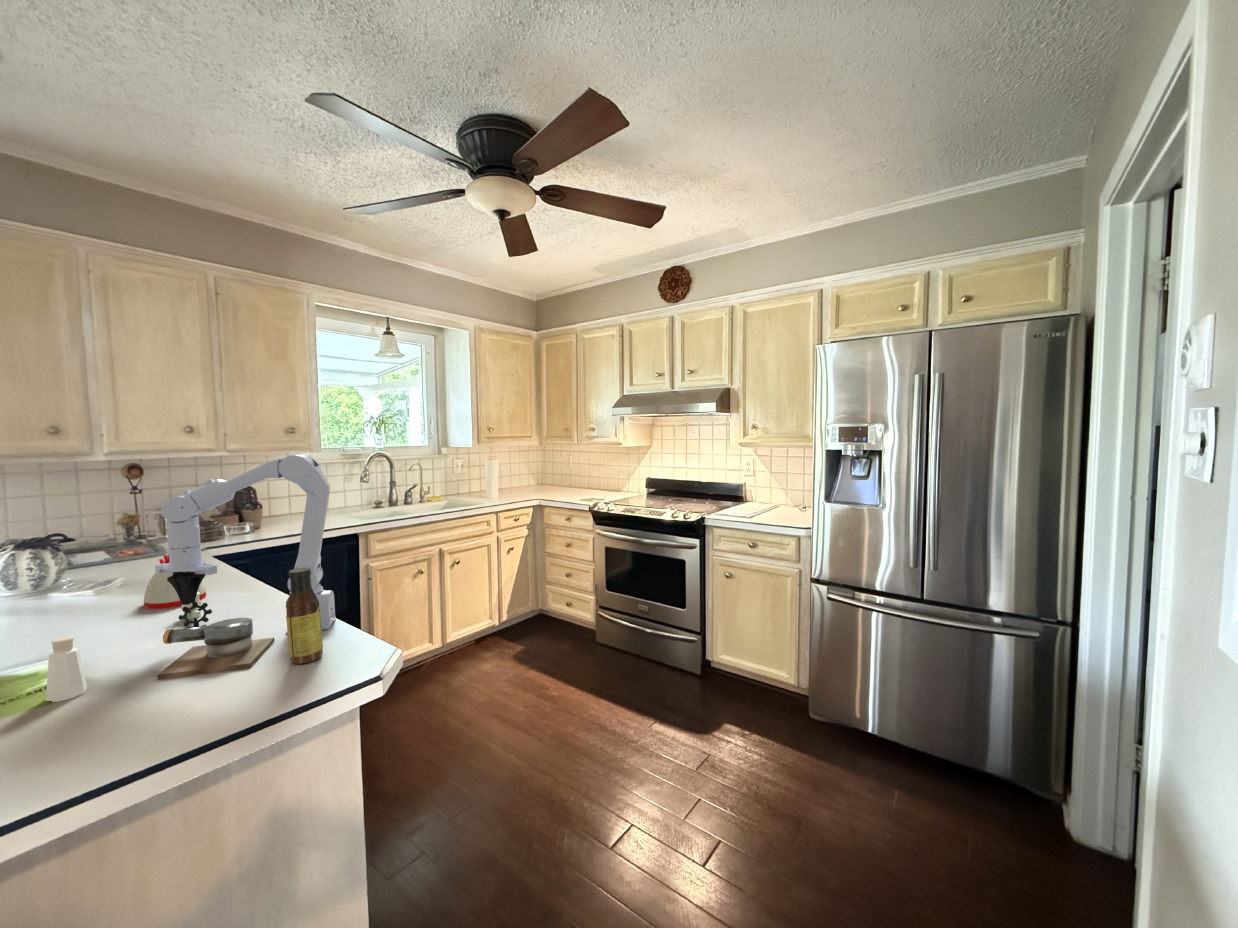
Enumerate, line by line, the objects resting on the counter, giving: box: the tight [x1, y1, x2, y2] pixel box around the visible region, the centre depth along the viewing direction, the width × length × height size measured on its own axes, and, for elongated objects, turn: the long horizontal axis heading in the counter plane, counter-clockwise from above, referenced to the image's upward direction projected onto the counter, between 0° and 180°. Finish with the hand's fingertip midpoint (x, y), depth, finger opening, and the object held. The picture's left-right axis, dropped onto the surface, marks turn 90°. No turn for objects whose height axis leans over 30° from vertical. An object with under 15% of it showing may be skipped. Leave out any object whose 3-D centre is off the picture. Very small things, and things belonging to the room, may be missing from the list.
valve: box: [178, 592, 213, 628], centre depth 132 cm, size 7×7×12 cm
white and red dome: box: [143, 553, 207, 610], centre depth 149 cm, size 14×14×15 cm
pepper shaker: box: [45, 635, 88, 703], centre depth 94 cm, size 5×5×11 cm
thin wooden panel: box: [156, 634, 275, 680], centre depth 109 cm, size 16×14×4 cm
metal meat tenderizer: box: [162, 617, 254, 645], centre depth 111 cm, size 16×9×3 cm, turn 105°
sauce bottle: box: [285, 568, 324, 665], centre depth 109 cm, size 6×6×20 cm
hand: (188, 603), depth 118 cm, fingers closed
